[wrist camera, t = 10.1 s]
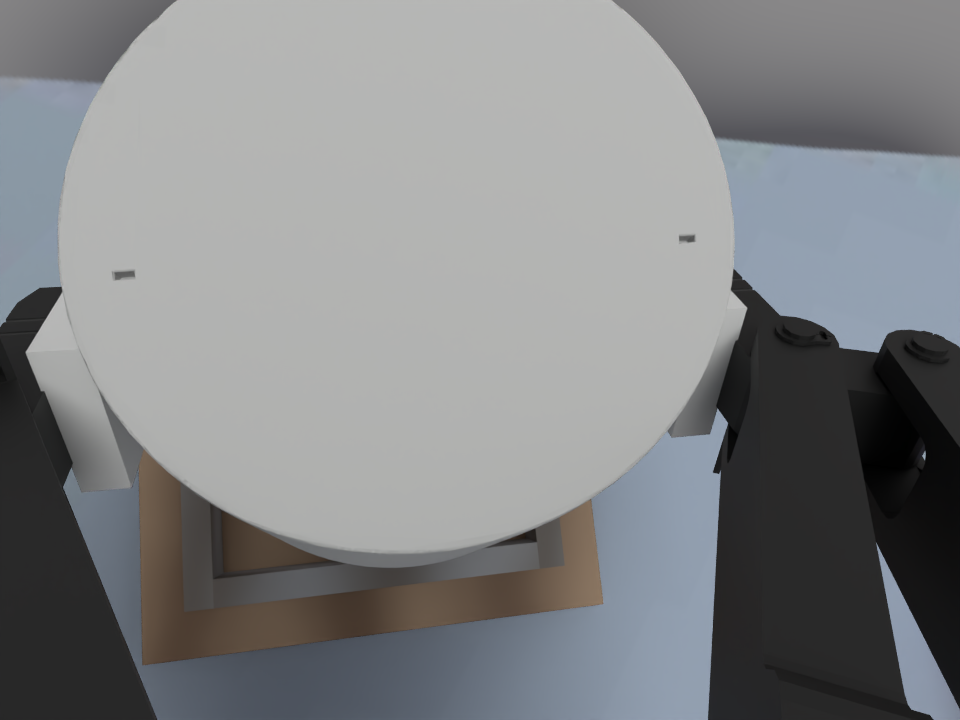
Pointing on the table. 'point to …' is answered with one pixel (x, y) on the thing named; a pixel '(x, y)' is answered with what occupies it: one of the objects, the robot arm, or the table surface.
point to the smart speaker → (395, 261)
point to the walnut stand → (330, 580)
